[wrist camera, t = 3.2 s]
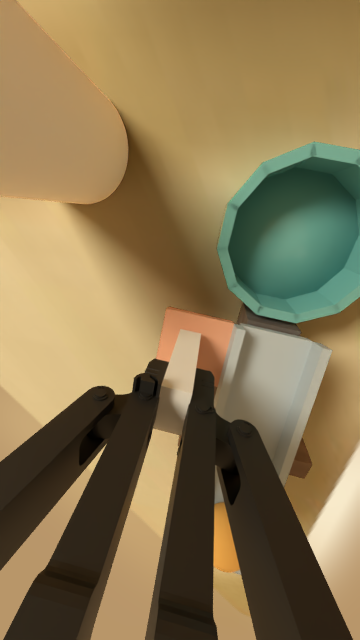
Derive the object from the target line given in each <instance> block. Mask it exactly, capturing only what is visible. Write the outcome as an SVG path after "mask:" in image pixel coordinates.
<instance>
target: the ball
mask: <svg viewBox="0 0 360 640" xmlns="http://www.w3.org/2000/svg"><path fill="white" fill-rule="evenodd" d="M213 566H214V567H215V568H217V569H219V570H221V571H223V572H235V571H238V570H240V567H239V563H238V559H237V554H236V550H235V546H234V541H233V537H232V533H231V529H230V524H229V520H228V516H227V512H226V507H225V503H224V502H220V503H216V504H215V507H214V563H213Z"/></svg>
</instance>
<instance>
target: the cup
mask: <svg viewBox="0 0 360 640" xmlns="http://www.w3.org/2000/svg"><path fill="white" fill-rule="evenodd" d="M127 162H128V139H127V134H126V130H125V127H124V124H123V121H122V119H121V117H120V115H119V113H118V111H117V109H116V108H115V106H114V105H113V104H112V102H111V101H110V100H109V99H108V98H107V97H106V96H105V95H104V93H103V92H102V91H101V90H100V89H99V88H98V87H97V86H96V85H95V84H94V83H93V82H92V81H91V80H90V79H89V77H88V76H87V75H86V74H85V73H84V72H83V71H82V70H81V69H80V68H79V67H78V66H77V65H76V64H75V63H74V61H73V60H72V59H71V58H70V57H69V56H68V55H67V54H66V53H65V52H64V51H63V50H62V49H61V48H60V47H59V45H58V44H57V43H56V42H55V41H54V40H53V39H52V38H51V37H50V36H49V35H48V34H47V33H46V32H45V31H44V29H43V28H42V27H41V26H40V25H39V24H38V23H37V22H36V21H35V20H34V19H33V18H32V17H31V16H30V15H29V13H28V12H27V11H26V10H25V9H24V8H23V7H22V6H21V5H20V4H19V3H18V2H17V1H16V0H0V197H11V198H22V199H33V200H44V201H54V202H65V203H76V204H93V203H97V202H99V201H102V200H104V199H106V198H107V197H108V196H110V195H111V194H112V193H113V192H114V191H115V190H116V189H117V187H118V186H119V184H120V183H121V181H122V179H123V176H124V174H125V171H126V167H127Z"/></svg>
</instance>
